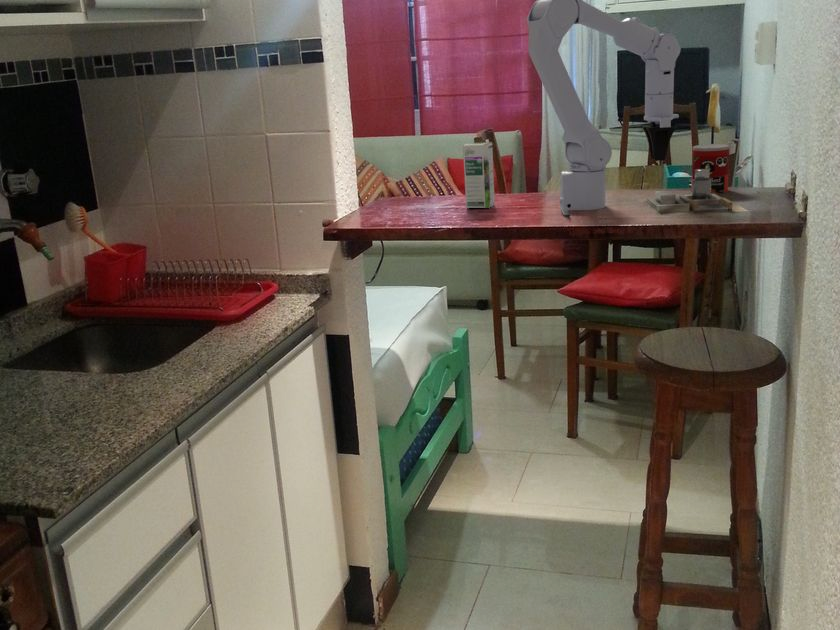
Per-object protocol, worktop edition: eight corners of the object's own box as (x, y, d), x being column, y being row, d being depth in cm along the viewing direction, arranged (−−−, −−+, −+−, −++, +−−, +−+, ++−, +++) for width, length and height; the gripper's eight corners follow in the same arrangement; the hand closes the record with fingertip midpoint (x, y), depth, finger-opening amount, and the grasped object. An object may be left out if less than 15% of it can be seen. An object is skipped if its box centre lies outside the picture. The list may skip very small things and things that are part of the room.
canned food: (688, 198, 181) (689, 148, 178) (694, 192, 188) (696, 144, 185) (724, 199, 178) (726, 147, 174) (729, 193, 184) (732, 143, 181)
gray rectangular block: (660, 207, 168) (660, 195, 167) (654, 202, 173) (654, 191, 173) (675, 206, 167) (675, 194, 167) (669, 201, 173) (669, 190, 172)
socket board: (658, 220, 160) (658, 206, 159) (642, 205, 176) (643, 192, 175) (748, 216, 158) (748, 201, 158) (724, 201, 175) (724, 188, 174)
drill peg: (694, 206, 167) (695, 171, 165) (690, 203, 170) (691, 169, 168) (712, 205, 166) (713, 170, 164) (707, 202, 170) (709, 168, 168)
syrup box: (465, 209, 187) (462, 144, 183) (471, 204, 192) (468, 142, 188) (489, 209, 185) (487, 143, 181) (495, 204, 190) (492, 141, 186)
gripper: (686, 94, 164) (684, 162, 168) (671, 91, 178) (670, 154, 182) (650, 96, 165) (649, 164, 169) (638, 93, 179) (637, 156, 183)
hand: (658, 159), depth 175 cm, fingers open, 3 cm apart
